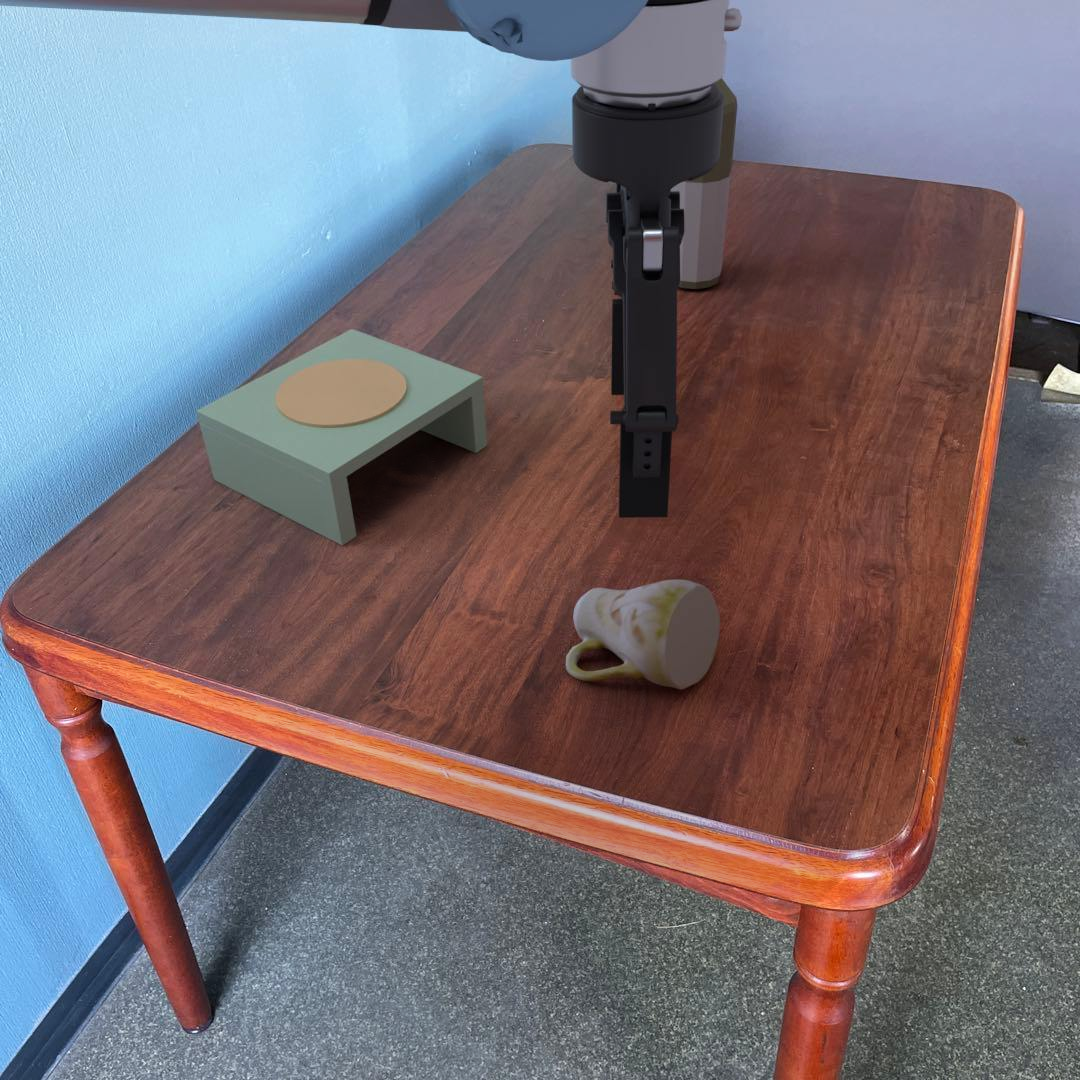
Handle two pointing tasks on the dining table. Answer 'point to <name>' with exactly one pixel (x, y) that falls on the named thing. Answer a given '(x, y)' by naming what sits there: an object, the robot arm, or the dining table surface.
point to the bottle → (708, 208)
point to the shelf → (335, 424)
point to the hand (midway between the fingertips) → (636, 448)
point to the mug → (649, 632)
